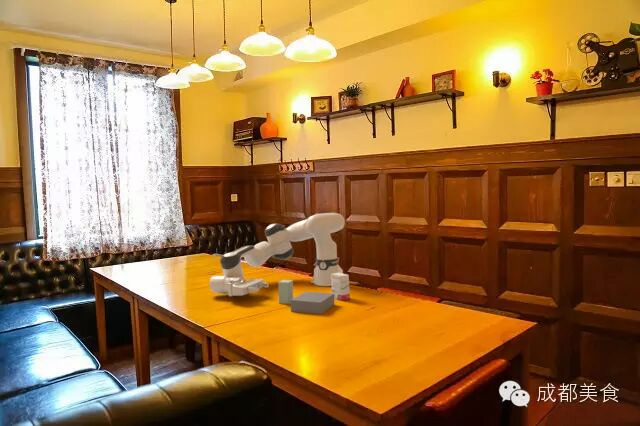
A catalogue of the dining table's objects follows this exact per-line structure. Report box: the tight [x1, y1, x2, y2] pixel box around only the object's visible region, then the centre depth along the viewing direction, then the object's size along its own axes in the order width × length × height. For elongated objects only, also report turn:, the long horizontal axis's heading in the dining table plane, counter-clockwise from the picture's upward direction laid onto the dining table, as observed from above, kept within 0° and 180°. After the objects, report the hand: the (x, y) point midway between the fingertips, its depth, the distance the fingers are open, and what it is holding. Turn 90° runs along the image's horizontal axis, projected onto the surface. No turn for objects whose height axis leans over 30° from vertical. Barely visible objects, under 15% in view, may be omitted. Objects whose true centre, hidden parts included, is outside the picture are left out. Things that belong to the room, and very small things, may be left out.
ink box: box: [331, 272, 351, 301], centre depth 212 cm, size 9×5×12 cm, turn 33°
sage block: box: [277, 279, 294, 305], centre depth 208 cm, size 5×5×10 cm
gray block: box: [290, 291, 335, 315], centre depth 197 cm, size 16×14×5 cm
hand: (263, 287), depth 212 cm, fingers open, 8 cm apart
